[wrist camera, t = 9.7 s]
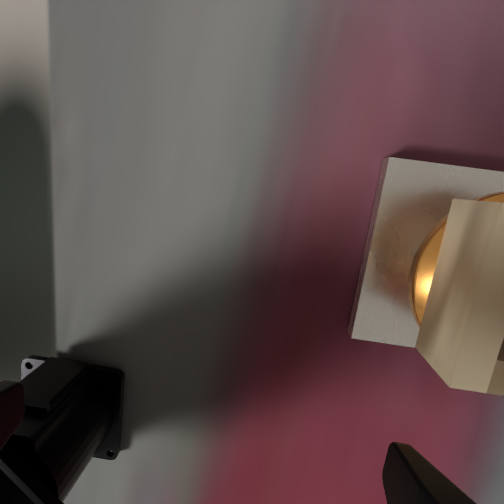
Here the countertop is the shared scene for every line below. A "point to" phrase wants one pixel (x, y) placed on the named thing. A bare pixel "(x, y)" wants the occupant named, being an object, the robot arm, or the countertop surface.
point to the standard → (409, 243)
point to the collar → (468, 300)
